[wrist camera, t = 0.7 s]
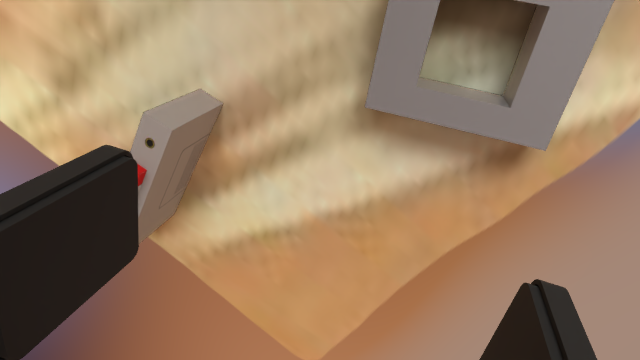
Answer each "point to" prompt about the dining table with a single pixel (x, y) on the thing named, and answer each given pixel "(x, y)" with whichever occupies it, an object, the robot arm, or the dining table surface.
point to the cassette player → (170, 154)
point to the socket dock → (477, 106)
